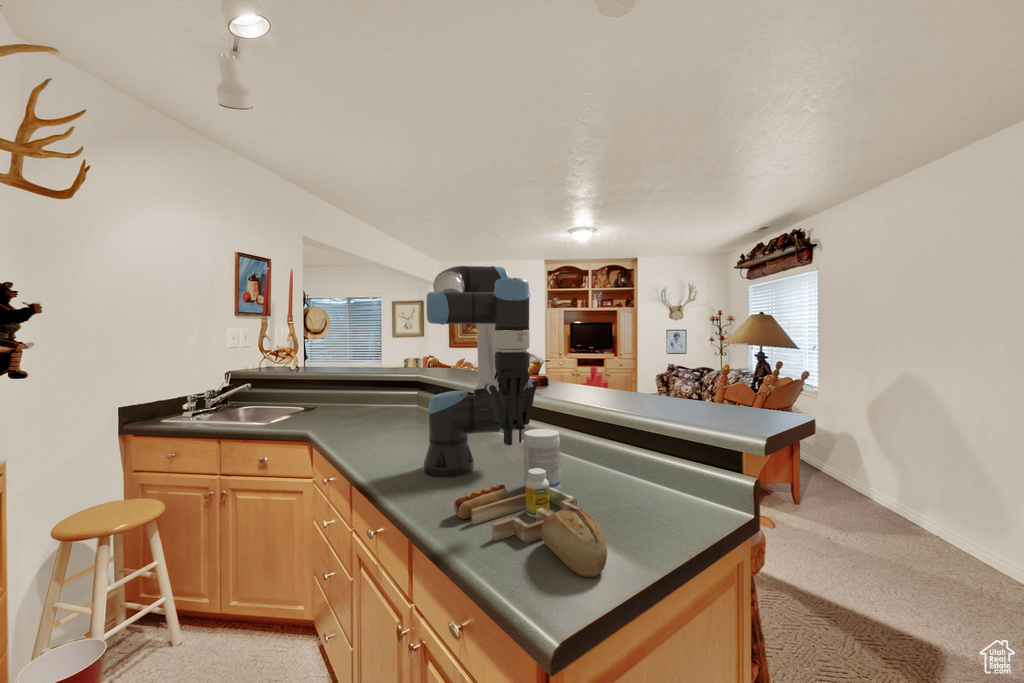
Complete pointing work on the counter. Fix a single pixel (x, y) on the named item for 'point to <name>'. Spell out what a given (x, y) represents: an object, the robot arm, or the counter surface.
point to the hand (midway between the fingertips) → (512, 458)
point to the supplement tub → (543, 454)
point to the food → (479, 500)
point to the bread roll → (576, 541)
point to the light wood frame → (514, 524)
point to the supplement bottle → (536, 491)
